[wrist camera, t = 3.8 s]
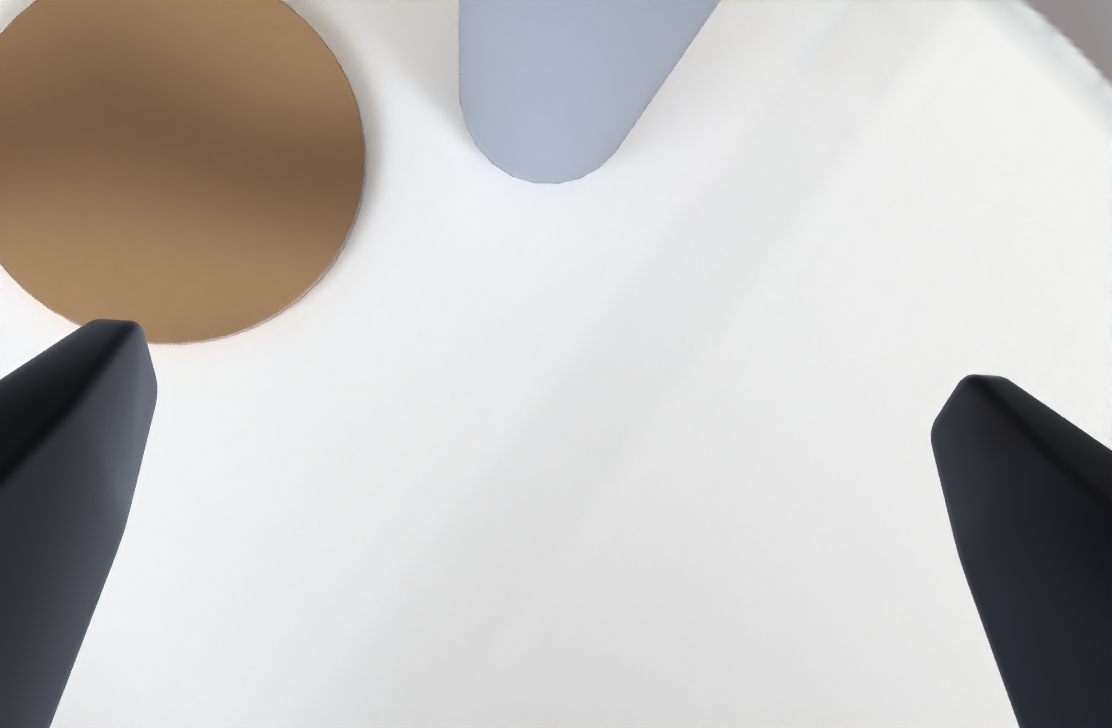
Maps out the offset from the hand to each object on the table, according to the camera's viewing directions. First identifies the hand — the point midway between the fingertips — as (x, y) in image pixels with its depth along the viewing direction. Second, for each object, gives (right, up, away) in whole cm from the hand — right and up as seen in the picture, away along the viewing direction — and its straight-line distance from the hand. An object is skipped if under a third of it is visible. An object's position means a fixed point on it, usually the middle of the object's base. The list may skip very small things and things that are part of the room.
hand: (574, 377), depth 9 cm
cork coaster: (-10, +6, +13) cm, 17 cm away
